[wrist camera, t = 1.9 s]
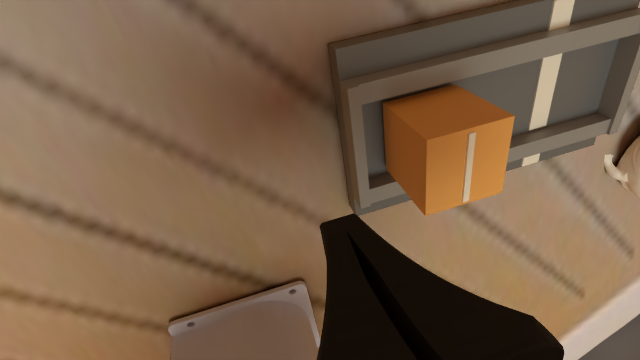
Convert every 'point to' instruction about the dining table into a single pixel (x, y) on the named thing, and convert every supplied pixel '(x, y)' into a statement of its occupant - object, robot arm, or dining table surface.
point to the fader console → (490, 80)
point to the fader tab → (446, 147)
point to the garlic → (627, 168)
